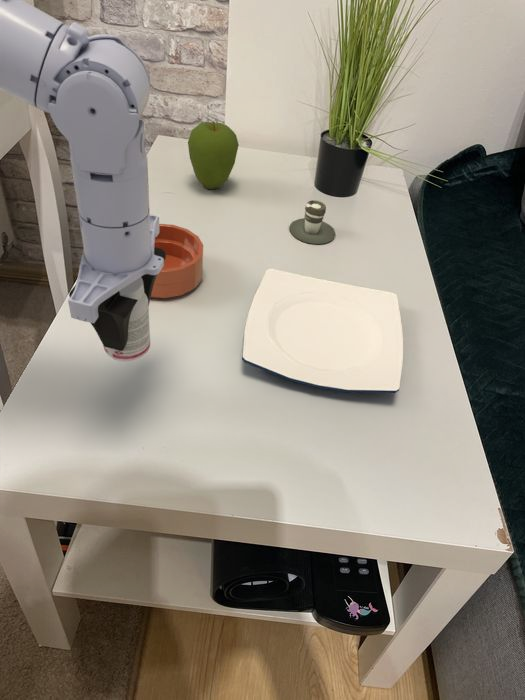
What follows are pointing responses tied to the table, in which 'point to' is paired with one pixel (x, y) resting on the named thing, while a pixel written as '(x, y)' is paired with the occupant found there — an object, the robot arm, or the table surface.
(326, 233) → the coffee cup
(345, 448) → the table surface
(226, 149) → the apple
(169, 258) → the bowl
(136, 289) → the pill bottle
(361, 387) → the plate
